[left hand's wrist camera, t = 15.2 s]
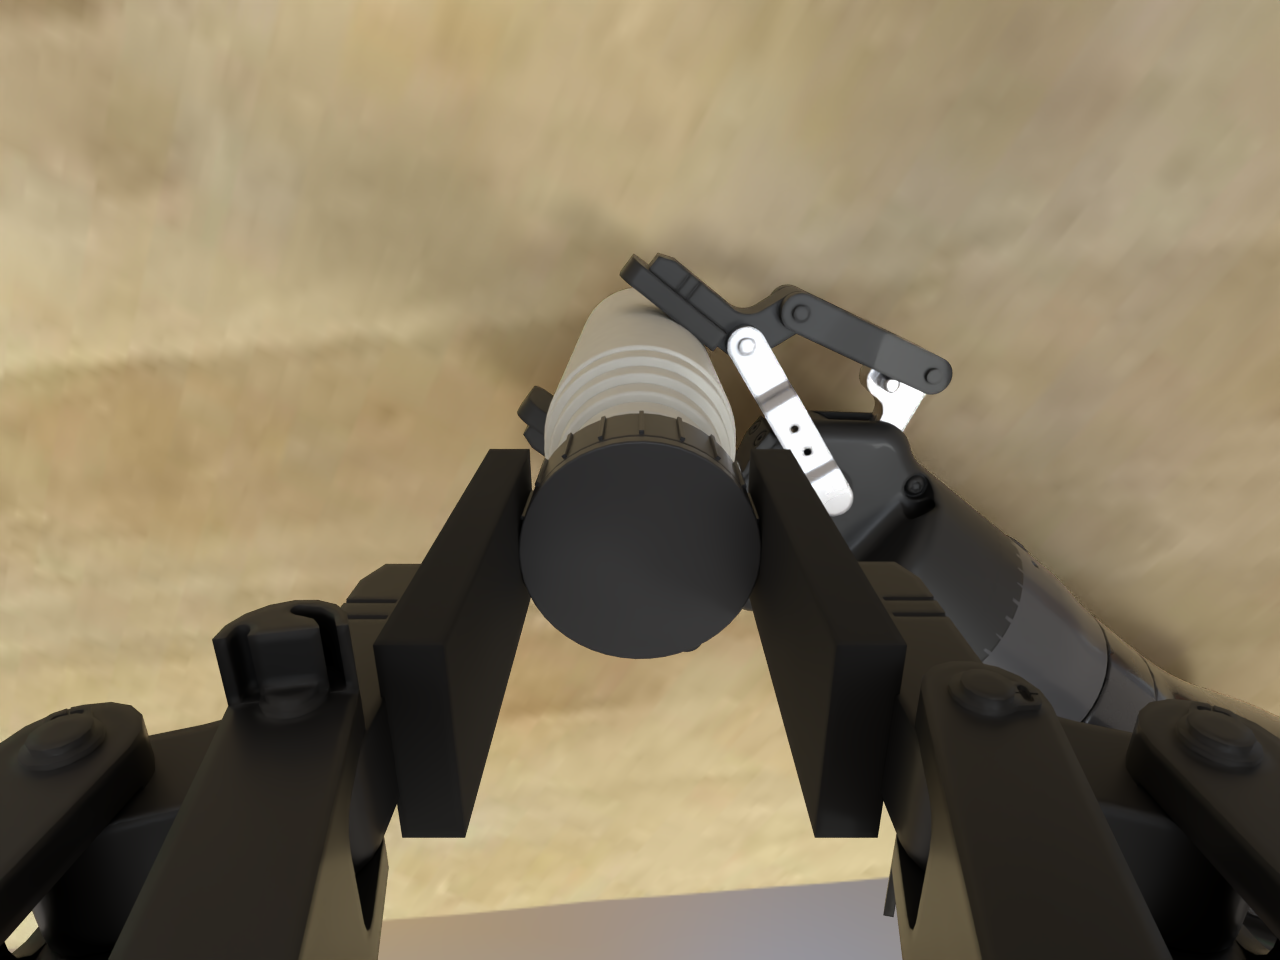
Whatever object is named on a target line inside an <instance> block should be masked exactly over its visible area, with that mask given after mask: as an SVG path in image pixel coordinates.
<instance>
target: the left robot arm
mask: <svg viewBox="0 0 1280 960" xmlns="http://www.w3.org/2000/svg"><path fill="white" fill-rule="evenodd" d="M531 490H532V484H531V467H530V449H490V450H489V451H488V453H487V455H486V456H485V458H484V460H483V461H482V463H481V465H480V466H479V468H478V470H477V471H476V473H475V475H474V476H473V478H472V480H471V481H470V483H469V485H468V486H467V488H466V490H465V492H464V493H463V495H462V497H461V498H460V500H459V502H458V503H457V505H456V507H455V508H454V510H453V512H452V513H451V515H450V517H449V518H448V520H447V522H446V523H445V525H444V527H443V528H442V530H441V532H440V533H439V535H438V537H437V538H436V540H435V542H434V543H433V545H432V547H431V548H430V550H429V552H428V553H427V555H426V557H425V558H424V560H423V562H422V563H421V564H385V565H383V566H382V567H380V568H379V569H377V570H376V571H374V572H373V573H371V574H370V575H368V576H366V577H365V578H363V579H362V580H360V582H359V583H358V584H357V586H356V587H355V589H354V590H353V591H352V593H351V594H350V595H349V597H348V598H347V602H346V603H344V604H343V605H342V606H341V608H340V607H339V606H338V605H336V604H333V603H328V602H324V601H320V600H294V601H289V602H283V603H278V604H273V605H268V606H266V607H263V608H260V609H257V610H255V611H252V612H249V613H246V614H244V615H243V616H241V617H239V618H237V619H236V620H234V621H232V622H231V623H229V624H227V625H226V626H224V627H223V629H222V630H221V631H220V632H219V633H218V634H217V635H216V636H215V637H214V638H213V639H212V641H213V645H214V649H215V653H216V657H217V661H218V665H219V670H220V674H221V678H222V682H223V686H224V690H225V694H226V698H227V702H228V708H227V710H226V712H225V714H224V716H223V718H222V720H219V721H215V722H212V723H208V724H204V725H199V726H194V727H189V728H184V729H180V730H175V731H170V732H165V733H160V734H155V735H150V736H148V733H147V729H146V726H145V723H144V719H143V716H142V714H141V713H140V712H138V711H137V710H136V709H135V708H134V707H132V706H131V705H125V704H119V703H114V702H107V703H97V704H87V705H81V706H76V707H71V709H64V710H61V711H58V712H55V713H52V714H50V715H49V716H47V717H45V718H43V719H41V720H39V721H36V722H34V723H32V724H30V725H28V726H25V727H24V728H22V729H21V730H19V731H18V732H16V733H15V734H13V735H12V736H10V737H9V738H7V739H6V740H4V741H3V742H1V743H0V960H378V952H379V944H380V935H381V927H382V919H383V911H384V902H385V894H386V886H387V877H388V869H389V866H388V859H387V852H386V846H385V840H384V835H385V832H386V830H387V827H388V825H389V822H390V820H391V817H392V815H393V812H394V810H395V807H396V805H397V806H398V813H399V819H400V826H401V832H402V838H465V836H466V833H467V829H468V825H469V822H470V818H471V814H472V811H473V807H474V803H475V800H476V796H477V792H478V789H479V785H480V781H481V778H482V774H483V770H484V767H485V763H486V759H487V756H488V752H489V749H490V745H491V741H492V738H493V734H494V730H495V727H496V723H497V719H498V716H499V712H500V708H501V705H502V701H503V697H504V694H505V690H506V686H507V683H508V679H509V675H510V672H511V668H512V664H513V661H514V657H515V653H516V650H517V646H518V642H519V639H520V635H521V631H522V628H523V624H524V620H525V617H526V613H527V610H528V606H529V602H530V599H531V596H530V595H529V593H528V590H527V588H526V585H525V583H524V580H523V577H522V572H521V568H520V560H519V536H520V531H521V526H522V522H523V520H521V516H522V513H523V510H524V507H525V505H526V502H527V499H528V497H529V494H530V491H531ZM748 493H750V495H751V498H752V500H753V503H754V506H755V508H756V511H757V514H758V516H759V523H758V526H759V530H760V536H761V562H760V569H759V574H758V577H757V580H756V583H755V586H754V589H753V591H752V593H751V595H750V597H749V598H750V602H751V606H752V609H753V613H754V617H755V620H756V624H757V628H758V631H759V635H760V639H761V642H762V646H763V650H764V653H765V657H766V661H767V664H768V668H769V672H770V675H771V679H772V683H773V686H774V690H775V694H776V697H777V701H778V704H779V708H780V712H781V715H782V719H783V723H784V726H785V730H786V734H787V737H788V741H789V745H790V748H791V752H792V756H793V759H794V763H795V767H796V770H797V774H798V778H799V781H800V785H801V789H802V792H803V796H804V800H805V803H806V807H807V811H808V814H809V818H810V822H811V825H812V829H813V833H814V836H815V838H878V832H879V826H880V819H881V813H882V806H883V801H884V803H885V806H886V808H887V811H888V813H889V816H890V818H891V821H892V823H893V826H894V828H895V831H896V840H895V846H894V852H893V858H892V864H891V870H890V876H889V882H888V888H887V894H886V900H885V907H884V915H885V916H890V917H894V911H895V905H896V909H897V917H898V925H899V934H900V942H901V950H902V958H903V960H1280V739H1279V738H1278V737H1276V736H1275V735H1273V734H1272V733H1270V732H1269V731H1267V730H1266V729H1264V728H1263V727H1261V726H1260V725H1258V724H1257V723H1255V722H1253V721H1250V720H1248V719H1246V718H1244V717H1241V716H1239V715H1237V714H1235V713H1233V712H1232V711H1230V710H1228V709H1225V708H1222V707H1218V706H1215V705H1214V706H1211V705H1210V704H1208V703H1203V702H1198V701H1188V700H1178V699H1165V700H1159V701H1153V702H1149V703H1148V704H1147V705H1146V706H1145V707H1143V708H1142V709H1141V710H1140V711H1139V713H1138V716H1137V720H1136V723H1135V726H1134V730H1133V733H1132V732H1127V731H1122V730H1117V729H1112V728H1107V727H1102V726H1097V725H1092V724H1087V723H1082V722H1077V721H1073V720H1070V719H1066V718H1062V717H1058V716H1057V715H1056V713H1055V711H1054V709H1053V707H1052V705H1051V703H1050V702H1049V701H1048V700H1047V698H1046V697H1045V696H1044V694H1043V693H1042V692H1041V691H1040V690H1039V689H1038V688H1037V687H1035V686H1034V685H1032V684H1031V683H1029V682H1028V681H1026V680H1025V679H1024V678H1022V677H1021V676H1018V675H1016V674H1014V673H1011V672H1009V671H1006V670H1004V669H1002V668H999V667H996V666H992V665H987V664H983V663H982V661H981V660H980V659H979V657H978V656H977V655H976V653H975V652H974V651H973V649H972V648H971V646H970V645H969V644H968V642H967V641H966V640H965V638H964V637H963V636H962V634H961V633H960V632H959V630H958V629H957V627H956V626H955V625H954V623H953V622H952V621H951V619H950V618H949V617H946V615H945V611H944V610H943V608H942V607H941V606H940V604H939V603H938V602H937V601H934V596H933V595H932V594H931V592H930V591H929V589H928V588H927V587H926V585H925V584H924V583H923V581H922V580H921V579H920V578H919V577H918V576H916V575H915V574H913V573H912V572H910V571H908V570H907V569H905V568H904V567H902V566H901V565H899V564H898V563H896V562H857V560H856V558H855V557H854V555H853V553H852V552H851V550H850V548H849V547H848V545H847V543H846V542H845V540H844V538H843V537H842V535H841V533H840V532H839V530H838V528H837V527H836V525H835V523H834V522H833V520H832V518H831V517H830V515H829V513H828V512H827V510H826V508H825V506H824V505H823V503H822V501H821V500H820V498H819V496H818V495H817V493H816V491H815V490H814V488H813V486H812V485H811V483H810V481H809V480H808V478H807V476H806V475H805V473H804V471H803V470H802V468H801V466H800V465H799V463H798V461H797V460H796V458H795V456H794V455H793V453H792V451H791V450H790V449H751V450H750V467H749V485H748ZM1249 907H1250V908H1251V909H1252V910H1253V911H1254V912H1255V913H1256V914H1257V915H1258V917H1259V918H1260V919H1261V920H1262V921H1263V922H1264V923H1265V924H1266V926H1267V927H1268V928H1269V929H1270V930H1271V931H1272V932H1273V933H1274V935H1275V936H1276V937H1277V940H1276V942H1275V944H1274V947H1273V948H1272V949H1271V950H1268V949H1266V948H1265V947H1264V946H1263V945H1262V944H1261V943H1260V942H1259V941H1258V940H1256V939H1255V938H1254V936H1253V935H1252V934H1251V933H1250V932H1249V931H1248V929H1247V928H1246V927H1245V926H1244V925H1243V921H1244V919H1245V916H1246V914H1247V912H1248V909H1249ZM31 911H32V912H33V914H34V916H35V919H36V921H37V924H38V926H39V927H38V928H37V929H36V930H35V932H34V933H33V934H32V935H31V936H30V937H29V939H28V940H27V941H26V942H25V943H24V944H22V945H21V946H20V947H19V948H18V949H17V950H15V951H14V952H13V953H11V952H9V951H8V949H7V947H6V944H5V940H6V939H7V938H8V937H9V936H10V935H11V934H12V932H13V931H14V930H15V929H16V928H17V927H18V926H19V925H20V923H21V922H22V921H23V920H24V919H25V918H26V917H27V915H28V914H29V913H30V912H31Z"/></svg>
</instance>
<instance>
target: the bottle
mask: <svg viewBox="0 0 1280 960" xmlns="http://www.w3.org/2000/svg"><path fill="white" fill-rule="evenodd" d="M639 411H644V413H648V414H658V415H663V416H667V417H672V418H675V419H677V417H681V418H682V421H683V422H686V423H688V424H690V425H692V426H694V427H696V428H698V429H700V430H701V431H703V432H704V433H706V434H707V435H708V436H710V435H711V434H712V435H713V436H714V437H715V440H716V442H717V443H718V444H719V445H720V446H721V447H722V448H723V449H724V450H725V451H726V453H727V454H728V455H729V456H730V458H731V459H732V461H733V462H734V461H735V454H736V429H735V422H734V416H733V413H732V409H731V406H730V403H729V401H728V399H727V396H726V394H725V392H724V390H723V387H722V385H721V383H720V380H719V378H718V376H717V374H716V371H715V369H714V367H713V364H712V362H711V360H710V357H709V355H708V353H707V351H706V348H705V346H704V344H703V343H702V342H701V341H699V340H698V339H697V338H696V337H695V336H693V335H692V334H691V333H690V332H689V331H688V330H686V329H685V328H684V327H682V326H681V325H679V324H678V323H677V322H676V321H674V320H673V319H672V318H671V317H669V316H668V315H667V314H666V313H664V312H663V311H662V310H661V309H659V308H658V307H657V306H656V305H654V304H653V303H652V302H651V301H649V300H648V299H647V298H646V297H644V296H643V295H642V294H641V293H639V292H638V291H637V290H636V289H634V288H628V289H624V290H621V291H618V292H616V293H614V294H612V295H610V296H608V297H607V298H605V299H604V300H603V301H602V302H600V303H599V304H598V305H597V306H596V307H595V309H594V310H593V311H592V313H591V314H590V316H589V317H588V319H587V321H586V323H585V325H584V328H583V330H582V332H581V335H580V337H579V339H578V341H577V344H576V346H575V348H574V351H573V353H572V355H571V358H570V360H569V362H568V364H567V367H566V369H565V371H564V374H563V376H562V378H561V380H560V383H559V385H558V387H557V390H556V392H555V394H554V397H553V399H552V401H551V404H550V407H549V410H548V413H547V417H546V423H545V435H544V440H545V445H544V451H545V458H546V459H548V460H549V458H550V457H551V455H552V454H553V453H554V451H555V450H556V449H557V448H558V447H559V446H560V445H561V444H562V443H563V442H564V441H565V440H566V439H567V436H568V434H570V433H572V434H574V433H576V432H577V431H579V430H581V429H582V428H584V427H586V426H588V425H590V424H592V423H595V422H597V421H599V420H601V417H603V416H606V418H609V417H612V416H617V415H623V414H631V413H639Z"/></svg>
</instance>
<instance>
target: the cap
mask: <svg viewBox="0 0 1280 960" xmlns="http://www.w3.org/2000/svg"><path fill="white" fill-rule="evenodd" d="M746 488H747V486H746V483H745V481H744V478H743V475H742V472H741V470H740V467H739V464H738V462H737V461H734V462H733V461H732V459H731V458H730V456H729V455H728V454H727V453H726V451H725V450H724V449H723V448H722V447H721V446H720V445H719V444H718V443H717V442H716V440H715V437H714V436H713V435H712V434H711V435H710V436H708V435H707V434H706V433H704V432H703V431H701V430H700V429H698V428H696V427H694V426H692V425H690V424H688V423H686V422H683V421H682V418H681V417H677V419H675V418H672V417H667V416H663V415H658V414H648V413H644V411H639V413H631V414H623V415H617V416H612V417H609V418H606V416H603V417H601V420H599V421H597V422H595V423H592V424H590V425H588V426H586V427H584V428H582V429H581V430H579V431H577V432H576V433H574V434H572V433H570V434H568V436H567V439H566V440H565V441H564V442H563V443H562V444H561V445H560V446H559V447H558V448H557V449H556V450H555V451H554V453H553V454H552V455H551V457H550V458H549V460H548V459H546V458H545V460H544V461H543V464H542V466H541V469H540V472H539V475H538V477H537V480H536V483H535V489H534V491H533V490H531V491H530V494H529V497H528V499H527V502H526V505H525V507H524V510H523V513H522V516H521V520H523V522H522V526H521V531H520V536H519V560H520V568H521V572H522V577H523V580H524V583H525V585H526V588H527V590H528V593H529V595H530V596H531V598H532V600H533V602H534V603H535V605H536V607H537V608H538V609H539V610H540V612H541V613H542V614H543V616H544V617H545V618H546V619H547V620H548V621H549V622H550V623H551V624H552V625H553V626H554V627H555V628H556V629H557V630H559V631H560V632H561V633H563V634H564V635H565V636H566V637H568V638H570V639H571V640H573V641H575V642H576V643H578V644H580V645H582V646H584V647H586V648H589V649H591V650H593V651H597V652H600V653H603V654H606V655H611V656H616V657H620V658H631V659H651V658H658V657H666V656H670V655H674V654H678V653H681V652H684V651H686V650H689V649H692V648H694V647H696V646H698V645H700V644H702V643H704V642H706V641H708V640H709V639H711V638H712V637H713V636H715V635H716V634H718V633H719V632H720V631H722V630H723V629H724V628H725V627H726V626H727V625H728V624H730V623H731V621H732V620H733V619H734V618H735V617H736V616H737V615H738V614H739V612H740V611H741V609H742V608H743V607H744V605H745V604H746V602H747V601H748V599H749V597H750V595H751V593H752V591H753V589H754V586H755V583H756V580H757V577H758V574H759V569H760V562H761V536H760V530H759V526H758V523H759V516H758V514H757V511H756V508H755V506H754V503H753V500H752V498H751V495H750V493H747V490H746Z"/></svg>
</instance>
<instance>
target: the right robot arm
mask: <svg viewBox="0 0 1280 960" xmlns="http://www.w3.org/2000/svg"><path fill="white" fill-rule="evenodd" d="M620 276H621V277H622V278H623V279H624V280H625V281H626V282H627V283H628V284H629V285H631V286H632V287H633V288H634V289H636V290H637V291H638V292H639V293H641V294H642V295H643V296H644V297H646V298H647V299H648V300H649V301H651V302H652V303H653V304H654V305H656V306H657V307H658V308H659V309H661V310H662V311H663V312H664V313H666V314H667V315H668V316H669V317H671V318H672V319H673V320H674V321H676V322H677V323H678V324H679V325H681V326H682V327H684V328H685V329H686V330H688V331H689V332H690V333H691V334H692V335H693V336H695V337H696V338H697V339H698V340H699V341H701V342H702V343H703V344H704V345H705V346H707V347H708V348H709V349H710V350H712V351H714V350H715V349H716V347H717V346H718V347H719V348H720V349H722V350H723V351H724V352H725V353H727V354H728V355H729V356H730V357H731V359H732V361H733V363H734V364H735V366H736V368H737V369H738V371H739V373H740V375H741V376H742V378H743V380H744V381H745V383H746V385H747V387H748V388H749V390H750V392H751V393H752V395H753V397H754V399H755V400H756V402H757V404H758V405H759V407H760V409H761V411H762V412H763V414H764V416H765V419H764V418H763V417H762V416H760V417H759V418H758V419H757V420H756V422H755V423H754V424H753V425H752V426H751V427H750V428H749V430H748V431H747V432H746V434H745V436H744V438H743V440H742V442H741V444H740V446H739V448H738V450H737V451H736V454H735V461H737V462H738V464H739V467H740V470H741V472H742V475H743V478H744V481H745V483H746V486H747V488H746V490H747V493H748V485H749V467H750V450H751V449H790V450H791V451H792V453H793V455H794V456H795V458H796V460H797V461H798V463H799V465H800V466H801V468H802V470H803V471H804V473H805V475H806V476H807V478H808V480H809V481H810V483H811V485H812V486H813V488H814V490H815V491H816V493H817V495H818V496H819V498H820V500H821V501H822V503H823V505H824V506H825V508H826V510H827V512H828V513H829V515H830V517H831V518H832V520H833V522H834V523H835V525H836V527H837V528H838V530H839V532H840V533H841V535H842V537H843V538H844V540H845V542H846V543H847V545H848V547H849V548H850V550H851V552H852V553H853V555H854V557H855V558H856V560H857V562H896V563H898V564H899V565H901V566H902V567H904V568H905V569H907V570H908V571H910V572H912V573H913V574H915V575H916V576H918V577H919V578H920V579H921V580H922V581H923V583H924V584H925V585H926V587H927V588H928V589H929V591H930V592H931V594H932V595H933V596H934V601H937V602H938V603H939V604H940V606H941V607H942V608H943V610H944V611H945V615H946V617H949V618H950V619H951V621H952V622H953V623H954V625H955V626H956V627H957V629H958V630H959V632H960V633H961V634H962V636H963V637H964V638H965V640H966V641H967V642H968V644H969V645H970V646H971V648H972V649H973V651H974V652H975V653H976V655H977V656H978V657H979V659H980V660H981V661H982V663H983V664H987V665H992V666H996V667H999V668H1002V669H1004V670H1006V671H1009V672H1011V673H1014V674H1016V675H1018V676H1021V677H1022V678H1024V679H1025V680H1026V681H1028V682H1029V683H1031V684H1032V685H1034V686H1035V687H1037V688H1038V689H1039V690H1040V691H1041V692H1042V693H1043V694H1044V696H1045V697H1046V698H1047V700H1048V701H1049V702H1050V703H1051V705H1052V707H1053V709H1054V711H1055V713H1056V715H1057V716H1058V717H1062V718H1066V719H1070V720H1073V721H1077V722H1082V723H1087V724H1092V725H1097V726H1102V727H1107V728H1112V729H1117V730H1122V731H1127V732H1132V733H1133V730H1134V726H1135V723H1136V720H1137V716H1138V713H1139V711H1140V710H1141V709H1142V708H1143V707H1145V706H1146V705H1147V704H1148V703H1149V702H1153V701H1159V700H1165V699H1178V700H1188V701H1198V702H1203V703H1208V704H1210V705H1211V706H1214V705H1215V706H1218V707H1222V708H1225V709H1228V710H1230V711H1232V712H1233V713H1235V714H1237V715H1239V716H1241V717H1244V718H1246V719H1248V720H1250V721H1253V722H1255V723H1257V724H1258V725H1260V726H1261V727H1263V728H1264V729H1266V730H1267V731H1269V732H1270V733H1272V734H1273V735H1275V736H1276V737H1278V738H1279V739H1280V717H1279V716H1276V715H1274V714H1272V713H1270V712H1267V711H1265V710H1263V709H1261V708H1258V707H1256V706H1254V705H1251V704H1249V703H1246V702H1244V701H1241V700H1238V699H1235V698H1232V697H1229V696H1227V695H1224V694H1221V693H1218V692H1215V691H1212V690H1209V689H1206V688H1203V687H1200V686H1196V685H1194V684H1191V683H1188V682H1186V681H1184V680H1182V679H1180V678H1177V677H1175V676H1173V675H1171V674H1169V673H1168V672H1166V671H1164V670H1163V669H1161V668H1160V667H1158V666H1156V665H1155V664H1153V663H1152V662H1150V661H1149V660H1148V659H1146V658H1145V657H1143V656H1142V655H1141V654H1140V653H1138V652H1137V651H1136V650H1134V649H1133V648H1132V647H1131V646H1130V645H1128V644H1127V643H1126V642H1125V641H1123V640H1122V639H1121V638H1120V637H1119V636H1117V635H1116V634H1115V633H1114V632H1112V631H1111V630H1110V629H1109V628H1108V627H1106V626H1105V625H1104V624H1103V623H1101V622H1100V621H1099V620H1098V619H1096V618H1095V617H1094V616H1093V615H1091V614H1090V613H1089V612H1088V611H1087V610H1086V609H1085V608H1084V607H1083V606H1082V605H1081V604H1080V603H1079V602H1078V601H1077V599H1076V598H1075V597H1074V596H1073V595H1072V594H1071V592H1070V591H1069V590H1068V589H1067V588H1066V587H1065V586H1064V585H1063V584H1062V583H1061V582H1060V581H1059V580H1058V579H1057V578H1056V577H1055V576H1054V575H1053V574H1052V573H1051V572H1050V571H1049V570H1048V569H1047V568H1045V567H1044V566H1043V565H1042V564H1040V563H1039V562H1038V561H1037V560H1036V559H1034V558H1033V557H1032V556H1031V555H1029V554H1028V551H1027V550H1026V549H1025V548H1024V547H1023V546H1022V545H1021V544H1020V543H1019V542H1017V541H1016V540H1014V539H1013V538H1011V537H1009V536H1007V535H1005V534H1004V533H1003V532H1001V531H1000V530H999V529H998V528H997V527H995V526H994V525H993V524H992V523H991V522H989V521H988V520H987V519H986V518H984V517H983V516H982V515H981V514H980V513H978V512H977V511H976V510H975V509H973V508H972V507H971V506H970V505H969V504H967V503H966V502H965V501H964V500H963V499H961V498H960V497H959V496H958V495H956V494H955V493H954V492H953V491H952V490H950V489H949V488H948V487H947V486H945V485H944V484H943V483H942V482H941V481H939V480H938V479H937V478H936V477H935V476H933V475H932V474H931V473H930V472H928V471H927V470H926V469H925V468H924V467H922V466H921V465H920V464H919V463H918V462H917V461H916V460H915V459H914V456H913V454H912V452H911V449H910V445H909V442H908V439H907V437H906V436H905V434H904V433H903V431H904V429H905V427H906V426H907V424H908V422H909V421H910V419H911V417H912V416H913V414H914V413H915V411H916V409H917V408H918V406H919V404H920V403H921V401H922V399H923V398H924V396H925V394H937V393H939V392H941V391H943V390H944V389H945V388H946V387H947V386H948V385H949V383H950V381H951V379H952V368H951V365H950V364H949V363H948V362H947V361H946V360H945V359H943V358H941V357H939V356H937V355H935V354H934V353H932V352H930V351H928V350H926V349H924V348H922V347H920V346H918V345H917V344H914V343H912V342H910V341H908V340H906V339H904V338H902V337H900V336H898V335H896V334H894V333H891V332H889V331H887V330H885V329H883V328H881V327H879V326H877V325H875V324H873V323H871V322H869V321H866V320H864V319H862V318H860V317H858V316H856V315H854V314H852V313H850V312H848V311H846V310H843V309H841V308H839V307H837V306H835V305H833V304H831V303H829V302H827V301H825V300H823V299H821V298H818V297H816V296H814V295H812V294H810V293H808V292H806V291H804V290H802V289H800V288H798V287H795V286H793V285H782V286H780V287H778V288H776V289H775V290H774V291H773V292H772V294H771V295H770V296H769V297H767V298H765V299H764V300H762V301H761V302H759V303H757V304H756V305H754V306H751V307H748V308H738V307H735V306H732V305H731V304H729V303H728V302H727V301H725V300H724V299H723V298H722V297H721V296H719V295H718V294H717V293H716V292H715V291H713V290H712V289H711V288H710V287H709V286H707V285H706V284H705V283H704V282H702V281H701V280H700V279H699V278H698V277H696V276H695V275H694V274H693V273H692V272H690V271H689V270H688V269H687V268H685V267H684V266H683V265H682V264H681V263H679V262H678V261H677V260H676V259H675V258H673V257H669V256H666V255H663V254H660V253H657V255H656V256H655V257H654V259H653V260H652V261H651V263H650V264H649V265H648V264H647V263H645V262H644V261H643V260H642V259H640V258H639V257H638V256H636V255H635V254H633V255H632V257H631V258H630V259H629V261H628V262H627V263H626V265H625V266H624V267H623V269H622V270H621V272H620ZM795 334H798V335H800V336H803V337H805V338H807V339H809V340H811V341H813V342H815V343H818V344H820V345H822V346H824V347H826V348H828V349H830V350H832V351H835V352H837V353H839V354H841V355H843V356H845V357H847V358H850V359H852V360H854V361H856V362H858V363H860V364H862V365H863V366H862V367H861V370H860V373H859V379H860V382H861V384H862V386H863V387H864V388H865V389H866V390H868V391H869V392H870V393H871V394H872V395H873V397H874V400H875V407H874V410H873V412H872V413H862V412H834V411H806V409H805V407H804V405H803V404H802V402H801V400H800V398H799V396H798V395H797V393H796V391H795V390H794V388H793V387H792V385H791V383H790V382H789V380H788V378H787V377H786V375H785V373H784V371H783V370H782V368H781V366H780V364H779V362H778V361H777V359H776V357H775V355H774V354H773V352H772V350H771V348H773V347H775V346H776V345H778V344H780V343H781V342H783V341H785V340H786V339H788V338H790V337H791V336H793V335H795ZM553 397H554V396H553V395H551V394H550V393H549V392H547V391H546V390H544V389H543V388H541V387H538V386H534V388H533V389H532V390H531V392H530V393H529V394H528V396H527V397H526V398H525V400H524V401H523V402H522V404H521V406H520V408H519V409H518V411H517V414H518V416H519V417H520V418H521V419H522V420H523V421H524V422H525V423H526V424H528V426H527V428H526V430H525V432H524V434H523V435H524V436H525V438H526V439H527V441H528V442H529V444H530V445H531V446H532V448H534V449H535V450H536V451H538V452H539V453H541V454H542V455H543V456H545V451H544V445H545V440H544V435H545V423H546V417H547V413H548V410H549V407H550V404H551V401H552V399H553ZM742 609H744V610H748V611H753V609H752V606H751V602H750V598H749V599H748V601H747V602H746V604H745V605H744V607H743V608H742ZM700 645H701V644H700ZM700 645H698V646H696V647H694V648H692V649H689V650H686V651H684V652H690V651H693V650H695V649H697V648H698V647H699V646H700ZM1243 925H1244V926H1245V927H1246V928H1247V929H1248V931H1249V932H1250V933H1251V934H1252V935H1253V936H1254V938H1255V939H1256V940H1258V941H1259V942H1260V943H1261V944H1262V945H1263V946H1264V947H1265V948H1266V949H1268V950H1271V949H1272V948H1273V947H1274V944H1275V942H1276V940H1277V937H1276V936H1275V935H1274V933H1273V932H1272V931H1271V930H1270V929H1269V928H1268V927H1267V926H1266V924H1265V923H1264V922H1263V921H1262V920H1261V919H1260V918H1259V917H1258V915H1257V914H1256V913H1255V912H1254V911H1253V910H1252V909H1251V908H1250V907H1249V909H1248V912H1247V914H1246V916H1245V919H1244V921H1243Z"/></svg>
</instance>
